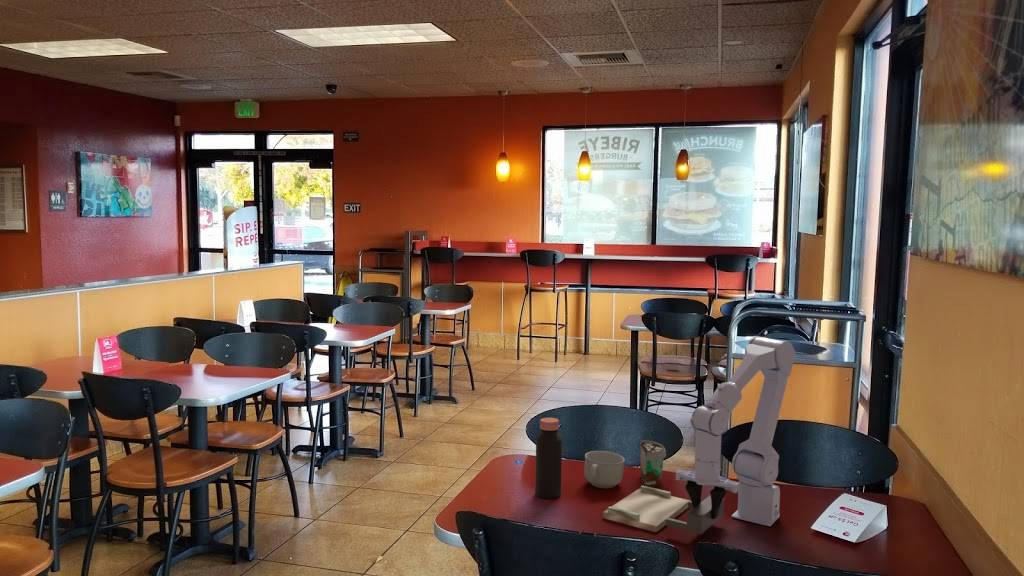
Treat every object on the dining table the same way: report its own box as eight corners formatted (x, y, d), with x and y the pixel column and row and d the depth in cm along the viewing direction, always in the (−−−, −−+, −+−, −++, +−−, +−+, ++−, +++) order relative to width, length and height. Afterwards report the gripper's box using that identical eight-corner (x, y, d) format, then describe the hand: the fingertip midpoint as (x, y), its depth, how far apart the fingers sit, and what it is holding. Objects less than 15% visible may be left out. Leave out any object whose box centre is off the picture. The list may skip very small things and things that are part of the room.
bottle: (565, 497, 199) (566, 422, 197) (541, 500, 197) (542, 424, 195) (554, 488, 205) (555, 415, 203) (531, 491, 203) (532, 417, 201)
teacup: (598, 475, 217) (598, 447, 216) (631, 484, 210) (632, 455, 209) (569, 488, 206) (570, 459, 205) (603, 498, 199) (604, 468, 198)
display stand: (689, 506, 194) (690, 495, 194) (656, 532, 178) (656, 521, 178) (639, 493, 202) (639, 484, 202) (602, 517, 186) (603, 507, 186)
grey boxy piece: (723, 514, 183) (724, 498, 183) (701, 534, 172) (701, 517, 171) (689, 506, 188) (690, 490, 187) (665, 525, 177) (666, 508, 176)
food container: (669, 489, 206) (670, 453, 205) (646, 489, 206) (647, 453, 205) (661, 474, 218) (662, 439, 217) (639, 473, 218) (640, 439, 217)
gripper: (671, 457, 178) (669, 513, 179) (732, 469, 169) (730, 528, 171) (683, 449, 183) (681, 504, 185) (743, 461, 175) (740, 518, 176)
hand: (705, 515), depth 178 cm, fingers closed on grey boxy piece, 3 cm apart
